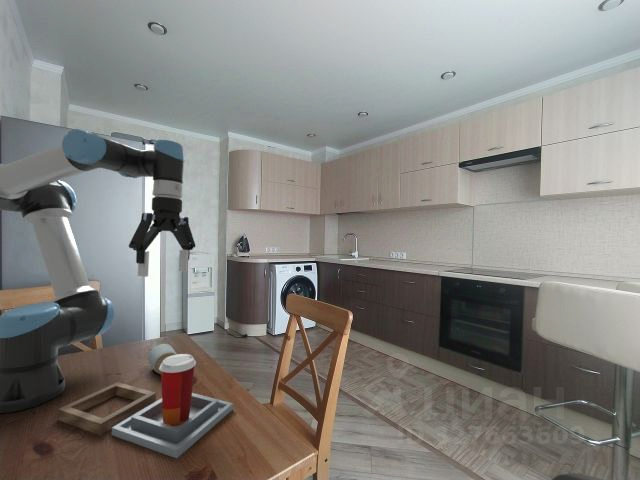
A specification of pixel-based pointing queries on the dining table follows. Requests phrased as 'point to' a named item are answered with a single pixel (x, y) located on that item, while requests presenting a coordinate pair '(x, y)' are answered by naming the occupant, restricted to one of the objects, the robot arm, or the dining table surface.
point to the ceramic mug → (160, 355)
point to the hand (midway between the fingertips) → (164, 273)
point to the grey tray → (172, 439)
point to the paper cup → (177, 388)
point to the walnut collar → (93, 423)
